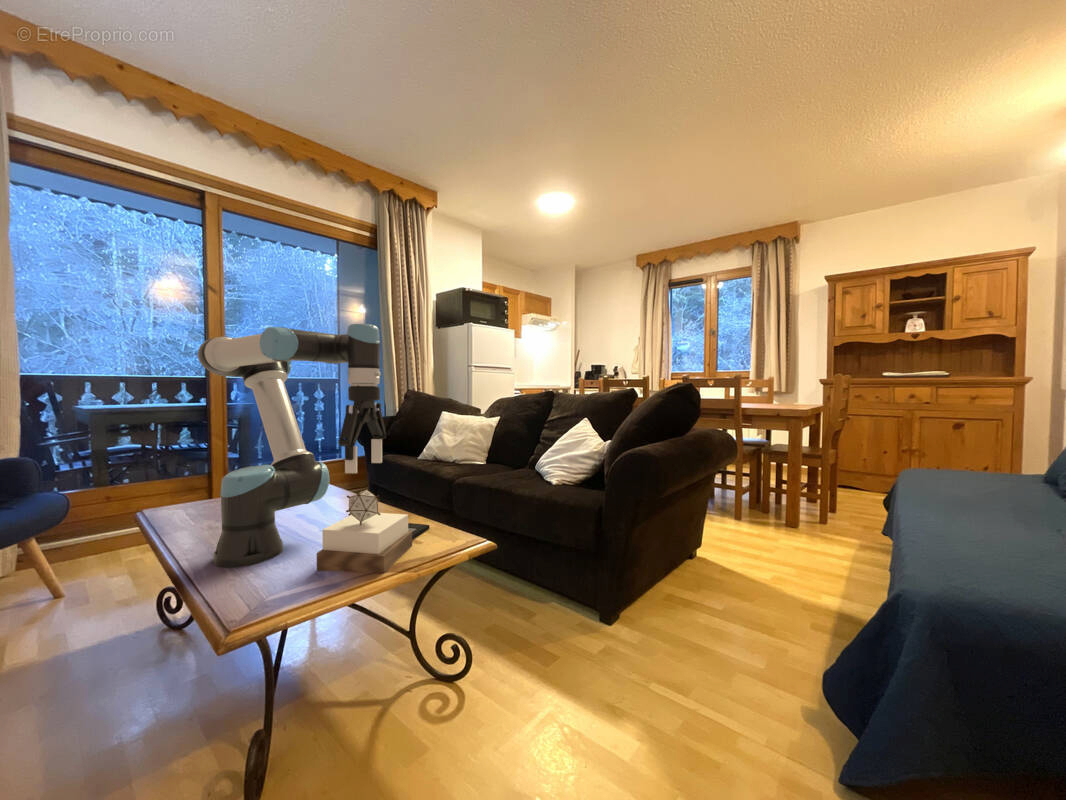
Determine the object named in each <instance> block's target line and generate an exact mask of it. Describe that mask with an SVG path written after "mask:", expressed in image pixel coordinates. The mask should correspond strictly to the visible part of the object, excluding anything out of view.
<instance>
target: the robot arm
mask: <svg viewBox="0 0 1066 800" xmlns="http://www.w3.org/2000/svg"><path fill="white" fill-rule="evenodd" d="M346 332H347V333H346V334H345V333H343V334H335V333H327V332H326V333H325V332H319V331H308V330H301V329H294V328H288V327H283V326H279V327H277V326H270V327H269V326H268V327H266V328H265V329H264V331H262V333H258V334H252V335H245V336H241V337H229V336H217V337H213V338H209V339H207V340H206V339H205V341H204V342H202V343H201V344H200V346H199V348H198V349H197V350H198V351H197V358H198V361H199V363H200V364H201V366H202V367H203V368H204V369H206V370H207V371H208V372H210V373H211V374H215V375H217V376H221V377H229V378H242V380H243V383H244V386H245V387H246V388H247V389H251V390H252V392H253V397H254V399H255V402H256V406H257V408H258V412H259V415H260V418H261V422H262V425H263V428H264V433H265V434H266V438H267V440H268V445H269V448H270V452H271V453H272V454H271V455H272V458H273V461H272V463H271V464H257V465H252V466H246V467H242V468H238V469H235V470H233V471H230V472H228V473H227V474H225V475H224V476H223V477H222V479H221V487H220V492H219V494H220V495H219V496H220V509H221V514H220V515H221V534H220V536H219V538H218V541H217V546H216V548H215V551H214V553H213V565H214V566H215V567H218V568H223V569H224V568H225V569H227V568H228V569H231V568H243V567H248V566H253V565H256V564H261V563H264V562H267V561H269V560H272V559H273V558H275V557H277V556H279V555H280V554H282V552H283V551H284V547H283V546H284V545H283V544H284V543H283V542H284V541H283V540H282V539H281V537H280V533H279V530H278V528H277V525H276V515H275V514H276V512H277V511H282V510H286V509H289V508H290V509H291V508H294V507H297V506H301V505H308V504H311V503H313V502H316V501H319V500H321V499H322V498H323V497H325V495H326V493H327V491H328V489H329V486H330V472H329V469H328V466H327V464H325V463H324V462H323V461H319V460H317V461H316V459H315V455H314V453H312V452H311V451H308V450H307V449H306V445H305V443H304V440H303V436H302V434H301V431H300V427H299V423H298V422H297V421H298V420H297V418H296V415H295V413H294V409H293V406H292V402H291V400H290V397H289V394H288V391H287V387H286V384H285V382H286V381H287V380H288V378H289V375H290V373H291V370H292V365H291V364H292V362H294V361H295V362H296V361H298V362H299V361H300V362H313V363H315V362H316V363H324V364H328V365H329V364H334V365H337V364H347V369H348V370H347V371H348V373H347V375H348V376H347V383H348V384H350V385H349V387H347V391H348V392H347V395H348V400H349V401H350V402H353V404H347V405H346V406H345V415H344V419H343V424H342V427H341V431H340V435H339V439H338V445H339V447H344V474H358V446H357V445H356V443H357V441H358V438H359V435H360V433H361V430H362V427H363V425H365V424H366V425H367V427H368V429H369V432H370V433H371V436H372V438H371V442H370V443H371V445H370V447H371V448H370V449H371V455H370V456H371V464H382V463H383V440H385V439H386V438H387V430H386V426H385V423H384V422H385V421H384V417H383V413H382V406H381V405H382V404H381V403H379V402H378V401H379V400H380V399H381V389H380V388H381V387H380V386H379V384H381V383H380V381H381V380H380V376H382V375H381V374H382V373H381V372H380V369H381V368H380V363H381V362H380V361H381V360H380V359H381V357H380V353H381V351H380V350H381V348H380V347H381V346H380V345H381V340H380V329H379V327H377V326H376V325H373V324H369V323H351V324H349V325H348V327H347V331H346ZM375 401H377V402H376V403H375Z"/></svg>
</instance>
